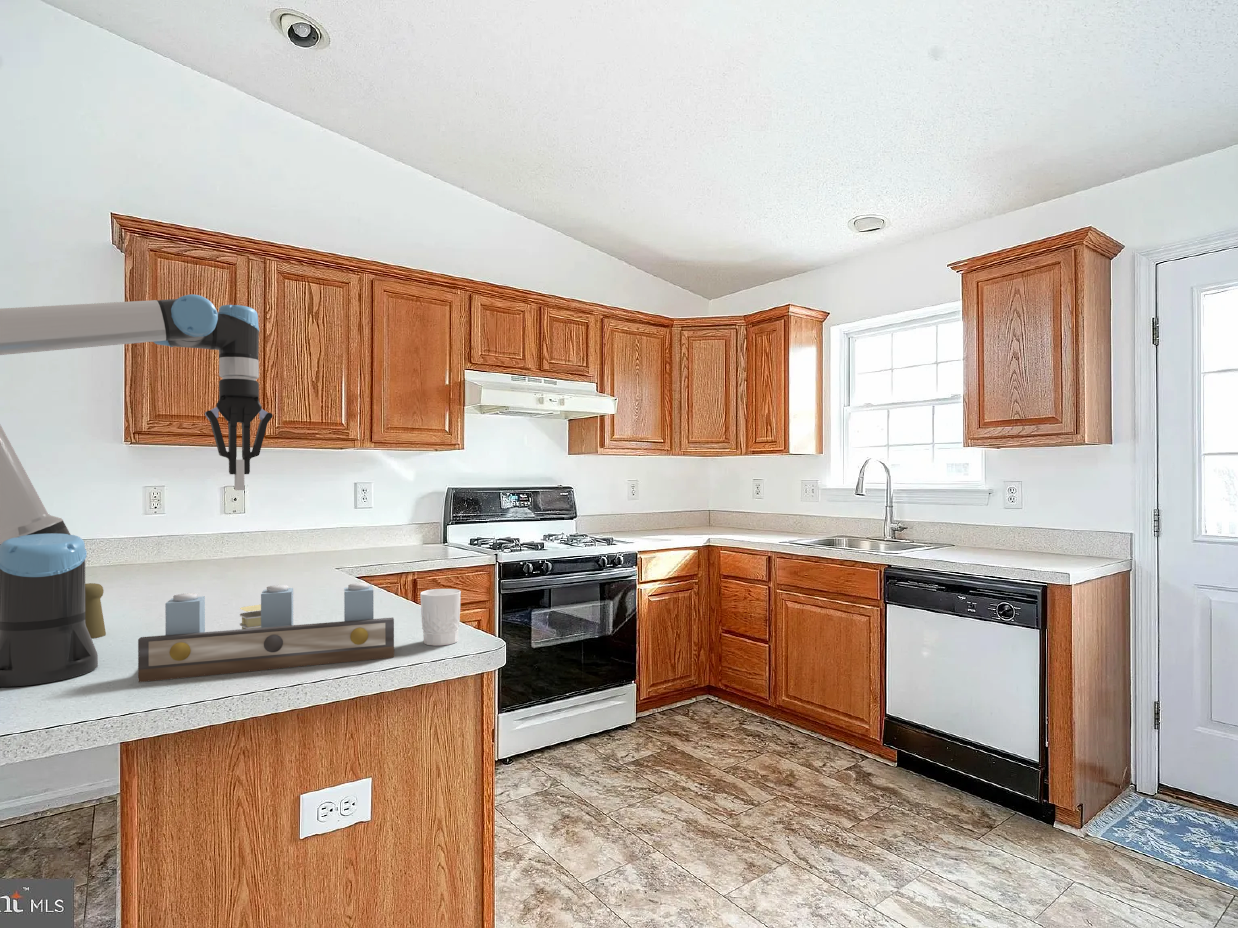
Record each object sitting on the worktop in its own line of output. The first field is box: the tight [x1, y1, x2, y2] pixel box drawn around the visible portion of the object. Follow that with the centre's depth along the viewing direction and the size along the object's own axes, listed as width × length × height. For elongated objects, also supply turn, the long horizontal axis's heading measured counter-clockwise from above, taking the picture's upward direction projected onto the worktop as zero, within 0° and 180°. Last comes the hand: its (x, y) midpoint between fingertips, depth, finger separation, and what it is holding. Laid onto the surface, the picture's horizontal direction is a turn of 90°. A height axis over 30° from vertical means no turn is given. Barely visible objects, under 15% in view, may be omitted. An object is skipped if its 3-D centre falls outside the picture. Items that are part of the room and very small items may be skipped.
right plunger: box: [343, 582, 375, 621], centre depth 133 cm, size 5×5×11 cm
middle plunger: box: [260, 584, 294, 628], centre depth 131 cm, size 5×5×11 cm
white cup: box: [420, 588, 462, 647], centre depth 143 cm, size 8×8×10 cm
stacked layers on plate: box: [239, 604, 261, 629], centre depth 153 cm, size 10×9×6 cm
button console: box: [137, 617, 395, 683], centre depth 130 cm, size 13×40×7 cm, turn 111°
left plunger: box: [164, 592, 206, 635], centre depth 123 cm, size 5×5×11 cm
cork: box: [85, 582, 107, 639], centre depth 149 cm, size 6×6×11 cm
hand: (239, 489), depth 152 cm, fingers closed
